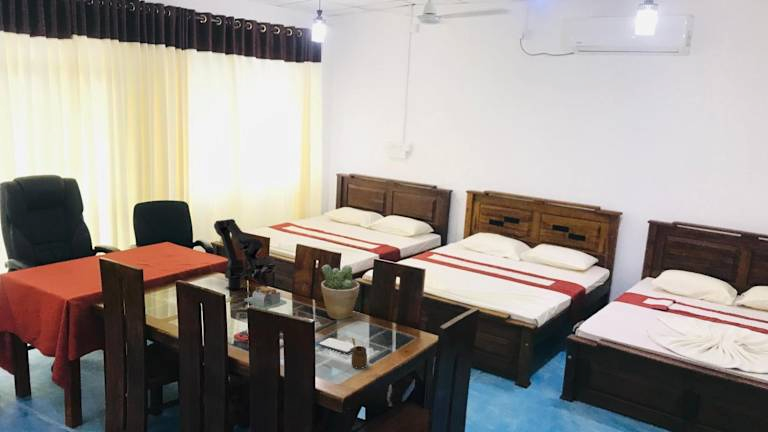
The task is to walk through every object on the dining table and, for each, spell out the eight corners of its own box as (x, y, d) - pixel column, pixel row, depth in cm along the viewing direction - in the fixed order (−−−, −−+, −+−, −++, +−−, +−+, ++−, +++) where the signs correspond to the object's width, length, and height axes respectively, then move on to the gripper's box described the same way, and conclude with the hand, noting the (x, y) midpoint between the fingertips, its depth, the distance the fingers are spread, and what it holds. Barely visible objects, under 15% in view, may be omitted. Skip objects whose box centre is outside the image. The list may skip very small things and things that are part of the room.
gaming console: (276, 319, 261) (290, 324, 255) (276, 325, 262) (290, 329, 255) (231, 334, 243) (245, 338, 237) (231, 339, 243) (246, 344, 237)
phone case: (316, 347, 238) (347, 356, 229) (316, 343, 238) (347, 352, 229) (329, 340, 245) (360, 349, 237) (329, 336, 245) (360, 345, 237)
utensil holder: (369, 366, 220) (370, 337, 218) (356, 370, 216) (357, 340, 214) (361, 361, 225) (362, 332, 223) (347, 364, 221) (348, 335, 219)
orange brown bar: (257, 290, 289) (257, 287, 289) (261, 289, 291) (261, 286, 291) (272, 294, 282) (272, 290, 281) (276, 293, 284) (276, 289, 283)
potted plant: (346, 306, 287) (348, 258, 282) (366, 318, 272) (368, 267, 267) (314, 312, 277) (314, 262, 272) (332, 324, 262) (333, 272, 257)
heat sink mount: (244, 301, 289) (244, 286, 287) (264, 295, 299) (264, 281, 297) (265, 309, 278) (265, 294, 277) (286, 303, 288) (286, 289, 286)
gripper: (243, 254, 280) (257, 280, 275) (274, 248, 294) (287, 273, 289) (234, 266, 286) (247, 292, 281) (264, 259, 300) (277, 284, 295)
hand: (265, 285), depth 286 cm, fingers closed
